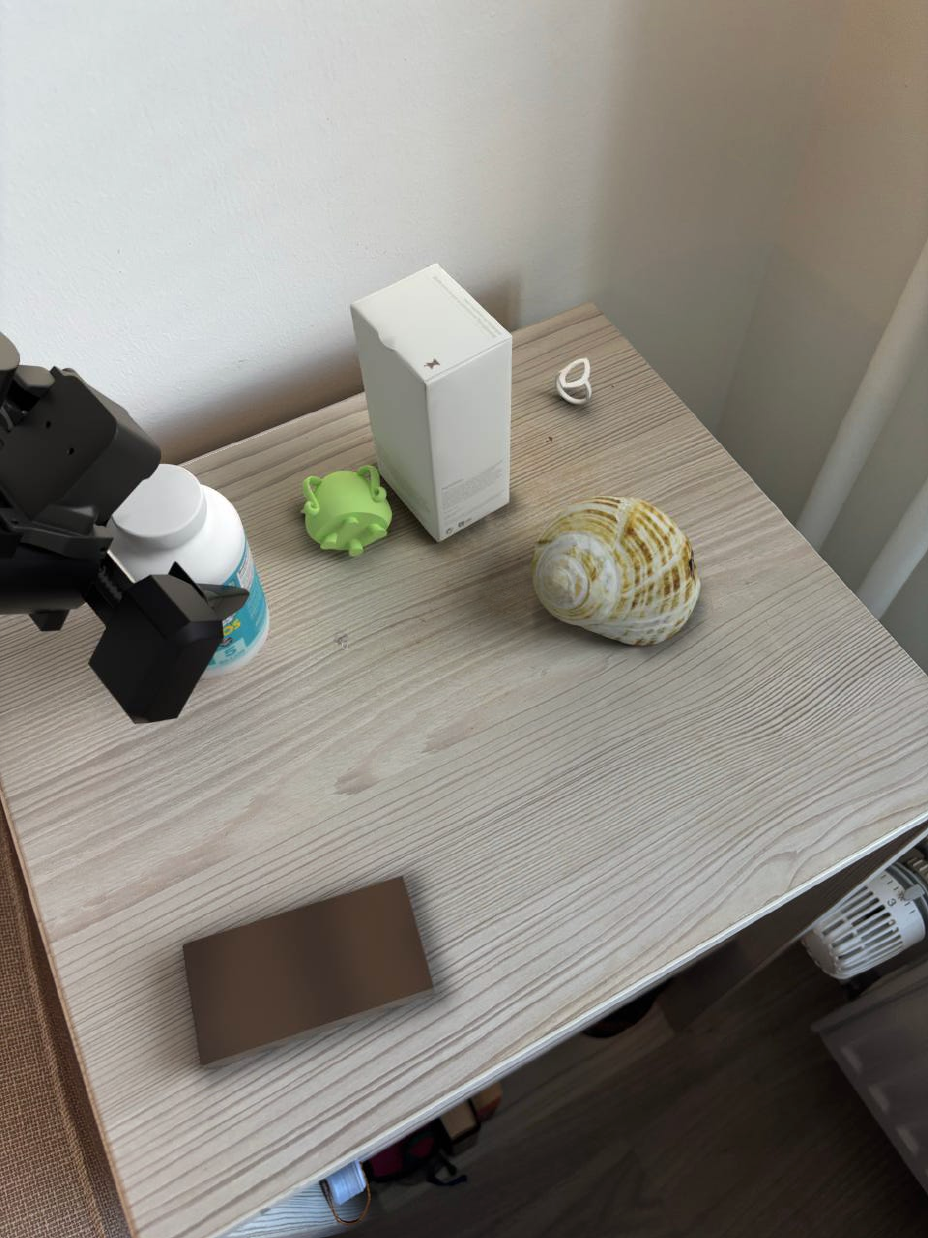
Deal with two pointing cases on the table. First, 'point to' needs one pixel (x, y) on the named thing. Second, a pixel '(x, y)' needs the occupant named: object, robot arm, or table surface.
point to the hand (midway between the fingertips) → (207, 555)
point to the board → (305, 972)
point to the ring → (581, 381)
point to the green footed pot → (346, 509)
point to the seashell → (616, 570)
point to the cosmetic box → (437, 398)
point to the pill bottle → (193, 552)
